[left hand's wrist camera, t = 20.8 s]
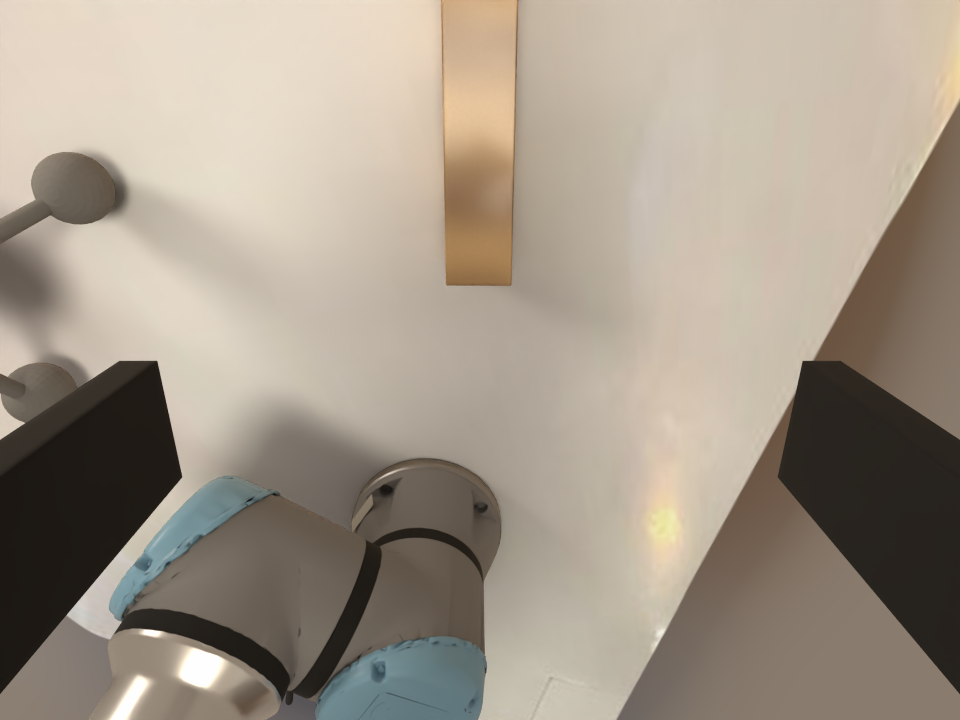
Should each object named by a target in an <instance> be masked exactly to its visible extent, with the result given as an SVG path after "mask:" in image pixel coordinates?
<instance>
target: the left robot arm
mask: <svg viewBox="0 0 960 720" xmlns="http://www.w3.org/2000/svg"><path fill="white" fill-rule="evenodd" d="M181 478H182V474H181V469H180V464H179V460H178V455H177V450H176V446H175V441H174V437H173V432H172V427H171V423H170V418H169V413H168V409H167V404H166V399H165V395H164V390H163V386H162V381H161V376H160V372H159V367H158V362H157V361H119V362H117V363H116V364H114V365H113V366H111V367H110V368H108V369H107V370H105V371H104V372H102V373H101V374H99V375H98V376H96V377H95V378H93V379H92V380H90V381H88V382H87V383H85V384H84V385H82V386H81V387H79V388H78V389H76V390H75V391H73V392H72V393H70V394H69V395H67V396H66V397H64V398H63V399H61V400H60V401H58V402H57V403H55V404H54V405H52V406H51V407H49V408H48V409H46V410H45V411H43V412H42V413H40V414H39V415H37V416H36V417H34V418H33V419H31V420H30V421H28V422H27V423H25V424H23V425H22V426H20V427H19V428H17V429H16V430H14V431H13V432H11V433H10V434H8V435H7V436H5V437H4V438H2V439H1V440H0V693H1V692H2V691H3V690H4V689H5V688H6V686H7V685H8V684H9V683H10V682H11V680H12V679H13V678H14V677H15V676H16V674H17V673H18V672H19V671H20V670H21V668H22V667H23V666H24V665H25V664H26V663H27V661H28V660H29V659H30V658H31V656H32V655H33V654H34V653H35V652H36V651H37V649H38V648H39V647H40V646H41V645H42V643H43V642H44V641H45V640H46V639H47V638H48V636H49V635H50V634H51V633H52V632H53V630H54V629H55V628H56V627H57V626H58V624H59V623H60V622H61V621H62V620H63V619H64V617H65V616H66V615H67V614H68V613H69V611H70V610H71V609H72V608H73V607H74V605H75V604H76V603H77V602H78V601H79V599H80V598H81V597H82V596H83V595H84V594H85V592H86V591H87V590H88V589H89V588H90V586H91V585H92V584H93V583H94V582H95V580H96V579H97V578H98V577H99V576H100V574H101V573H102V572H103V571H104V570H105V569H106V567H107V566H108V565H109V564H110V563H111V561H112V560H113V559H114V558H115V557H116V555H117V554H118V553H119V552H120V551H121V549H122V548H123V547H124V546H125V545H126V543H127V542H128V541H129V540H130V539H131V538H132V536H133V535H134V534H135V533H136V532H137V530H138V529H139V528H140V527H141V526H142V524H143V523H144V522H145V521H146V520H147V518H148V517H149V516H150V515H151V514H152V513H153V511H154V510H155V509H156V508H157V507H158V505H159V504H160V503H161V502H162V501H163V499H164V498H165V497H166V496H167V495H168V493H169V492H170V491H171V490H172V489H173V488H174V486H175V485H176V484H177V483H178V482H179V480H180V479H181ZM778 478H779V479H780V480H781V482H782V483H783V484H784V485H785V486H786V488H787V489H788V490H789V491H790V492H791V493H792V495H793V496H794V497H795V498H796V499H797V501H798V502H799V503H800V504H801V505H802V507H803V508H804V509H805V510H806V511H807V513H808V514H809V515H810V516H811V517H812V518H813V520H814V521H815V522H816V523H817V524H818V526H819V527H820V528H821V529H822V530H823V532H824V533H825V534H826V535H827V536H828V538H829V539H830V540H831V541H832V542H833V543H834V545H835V546H836V547H837V548H838V549H839V551H840V552H841V553H842V554H843V555H844V557H845V558H846V559H847V560H848V561H849V562H850V564H851V565H852V566H853V567H854V568H855V570H856V571H857V572H858V573H859V574H860V576H861V577H862V578H863V579H864V580H865V582H866V583H867V584H868V585H869V586H870V588H871V589H872V590H873V591H874V592H875V594H876V595H877V596H878V597H879V598H880V599H881V601H882V602H883V603H884V604H885V605H886V607H887V608H888V609H889V610H890V611H891V612H892V614H893V615H894V616H895V617H896V619H897V620H898V621H899V622H900V623H901V624H902V626H903V627H904V628H905V629H906V630H907V632H908V633H909V634H910V635H911V636H912V638H913V639H914V640H915V641H916V642H917V644H918V645H919V646H920V647H921V648H922V649H923V651H924V652H925V653H926V654H927V655H928V657H929V658H930V659H931V660H932V661H933V663H934V664H935V665H936V666H937V667H938V669H939V670H940V671H941V672H942V673H943V674H944V676H945V677H946V678H947V679H948V680H949V682H950V683H951V684H952V685H953V686H954V688H955V689H956V690H957V691H958V692H959V694H960V440H959V439H958V438H956V437H955V436H953V435H952V434H950V433H949V432H947V431H946V430H944V429H942V428H941V427H940V426H938V425H936V424H935V423H933V422H932V421H930V420H929V419H927V418H926V417H924V416H923V415H921V414H920V413H918V412H917V411H915V410H914V409H912V408H911V407H909V406H908V405H906V404H905V403H903V402H902V401H900V400H899V399H897V398H896V397H894V396H893V395H891V394H890V393H888V392H887V391H885V390H884V389H882V388H881V387H879V386H878V385H876V384H875V383H873V382H872V381H870V380H868V379H867V378H865V377H864V376H862V375H861V374H859V373H858V372H856V371H855V370H853V369H852V368H850V367H849V366H847V365H846V364H844V363H843V362H841V361H803V362H802V367H801V372H800V376H799V381H798V386H797V390H796V395H795V400H794V404H793V409H792V413H791V418H790V423H789V427H788V432H787V437H786V441H785V446H784V451H783V455H782V460H781V464H780V469H779V474H778ZM500 538H501V520H500V511H499V508H498V504H497V502H496V499H495V497H494V496H493V494H492V492H491V491H490V489H489V488H488V487H487V486H486V484H485V483H484V482H483V481H482V480H481V479H479V478H478V477H477V476H476V475H474V474H473V473H471V472H470V471H468V470H466V469H464V468H463V467H460V466H458V465H456V464H453V463H449V462H446V461H441V460H434V459H416V460H409V461H404V462H401V463H398V464H395V465H392V466H390V467H388V468H386V469H384V470H383V471H381V472H380V473H378V474H377V475H376V476H374V477H373V478H372V479H371V480H370V481H369V482H368V483H367V484H366V486H365V487H364V488H363V490H362V492H361V493H360V495H359V497H358V500H357V503H356V506H355V509H354V512H353V516H352V521H351V532H350V531H348V530H346V529H344V528H342V527H340V526H338V525H336V524H334V523H333V522H331V521H329V520H327V519H325V518H323V517H321V516H319V515H317V514H315V513H313V512H311V511H309V510H307V509H305V508H303V507H301V506H299V505H297V504H295V503H293V502H291V501H289V500H287V499H285V498H283V497H281V496H280V493H279V492H277V491H275V490H266V489H264V488H262V487H260V486H258V485H255V484H253V483H251V482H249V481H246V480H244V479H242V478H239V477H236V476H224V477H219V478H217V479H215V480H213V481H211V482H209V483H207V484H206V485H205V486H203V487H202V488H201V489H199V490H198V491H197V492H196V493H195V494H194V495H193V496H192V497H191V498H190V499H189V500H188V501H187V502H186V503H185V504H184V505H183V506H182V507H181V508H180V509H179V510H178V511H177V512H176V513H175V514H174V515H173V516H172V517H171V518H170V520H169V521H168V522H167V523H166V524H165V525H164V526H163V527H162V529H161V530H160V531H159V532H158V533H157V535H156V536H155V537H154V538H153V539H152V541H151V542H150V543H149V544H148V546H147V547H146V548H145V550H144V553H143V555H142V556H141V557H139V558H138V560H137V561H136V562H135V564H134V565H133V566H132V567H131V568H130V569H129V570H128V572H127V573H126V574H125V576H124V577H123V579H122V580H121V582H120V583H119V585H118V586H117V588H116V590H115V591H114V593H113V595H112V598H111V600H110V603H109V610H110V612H112V613H113V614H114V616H115V618H116V619H117V620H119V621H122V623H121V624H120V626H119V627H118V629H117V630H116V632H115V633H114V635H113V636H112V638H111V639H110V641H109V642H108V646H107V648H108V655H109V660H110V665H111V670H112V675H113V678H112V683H111V685H110V687H109V688H108V690H107V691H106V693H105V694H104V696H103V698H102V699H101V701H100V702H99V704H98V705H97V707H96V708H95V710H94V712H93V713H92V715H91V716H90V718H89V719H88V720H266V719H268V718H270V717H271V716H273V715H275V714H276V713H277V711H278V710H279V707H280V705H281V703H282V700H283V698H284V696H285V693H286V691H287V694H286V704H287V705H290V704H291V703H292V701H293V693H295V694H297V695H300V696H302V697H304V698H306V699H308V700H310V701H313V702H315V703H317V705H316V708H315V717H316V720H478V718H479V715H480V712H481V709H482V703H483V692H484V680H485V674H486V669H487V662H486V658H485V657H486V656H485V644H484V589H483V581H484V579H485V577H486V575H487V573H488V570H489V568H490V566H491V564H492V562H493V560H494V558H495V555H496V553H497V550H498V547H499V543H500Z"/></svg>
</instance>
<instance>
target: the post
mask: <svg viewBox="0 0 960 720" xmlns="http://www.w3.org/2000/svg"><path fill="white" fill-rule="evenodd" d="M441 16H442V74H443V132H444V191H445V249H446V285H492V286H510V285H511V273H512V232H513V190H514V149H515V108H516V67H517V25H518V0H441Z"/></svg>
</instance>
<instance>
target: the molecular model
mask: <svg viewBox="0 0 960 720" xmlns="http://www.w3.org/2000/svg"><path fill="white" fill-rule="evenodd" d="M31 185H32V191H33V194H34V196H35V199H36V200H34V201H33V202H31V203H29V204H27V205H25V206H23V207H21V208H20V209H18V210H16V211H14V212H12V213H10V214H9V215H7V216H5V217H3V218H1V219H0V243H2V242H4V241H6V240H8V239H9V238H11V237H13V236H15V235H16V234H18V233H20V232H22V231H23V230H25V229H27V228H29V227H30V226H32V225H34V224H36V223H38V222H39V221H41V220H43V219H45V218H46V217H48V216H50V215H51V216H53V217H55V218H56V219H58V220H61V221H63V222H67V223H72V224H88V223H93V222H95V221H97V220H100V219H102V218H103V217H104V216H106V215H107V213H108V212H109V211H110V210H111V208H112V206H113V204H114V200H115V187H114V183H113V181H112V178H111V177H110V175H109V173H108V172H107V171H106V170H105V169H104V167H102V166H101V165H100V164H99V163H98V162H96V161H95V160H93V159H92V158H89V157H87V156H85V155H82V154H78V153H72V152H61V153H56V154H52V155H50V156H48V157H46V158H45V159H43V160H42V161H41V162H40V163H39V164H38V165H37V166H36V168H35V170H34V172H33V175H32V180H31ZM76 389H77V386H76V383H75V381H74V379H73V378H72V376H71V375H70V374H69V373H68V372H66V371H65V370H64V369H62V368H60V367H58V366H56V365H53V364H48V363H33V364H28V365H25V366H23V367H20V368H18V369H17V370H15V371H14V372H13V373H11V374H10V375H9V376H8V377H6V376H4V375H2V374H0V393H1V399H2V403H3V405H4V407H5V409H6V410H7V412H8V413H9V414H10V415H11V416H13V417H14V418H16V419H18V420H20V421H22V422H25V423H27V422H28V421H30V420H31V419H33V418H34V417H36V416H37V415H39V414H40V413H42V412H43V411H45V410H46V409H48V408H49V407H51V406H52V405H54V404H55V403H57V402H58V401H60V400H61V399H63V398H64V397H66V396H67V395H69V394H70V393H72V392H73V391H75V390H76Z"/></svg>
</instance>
